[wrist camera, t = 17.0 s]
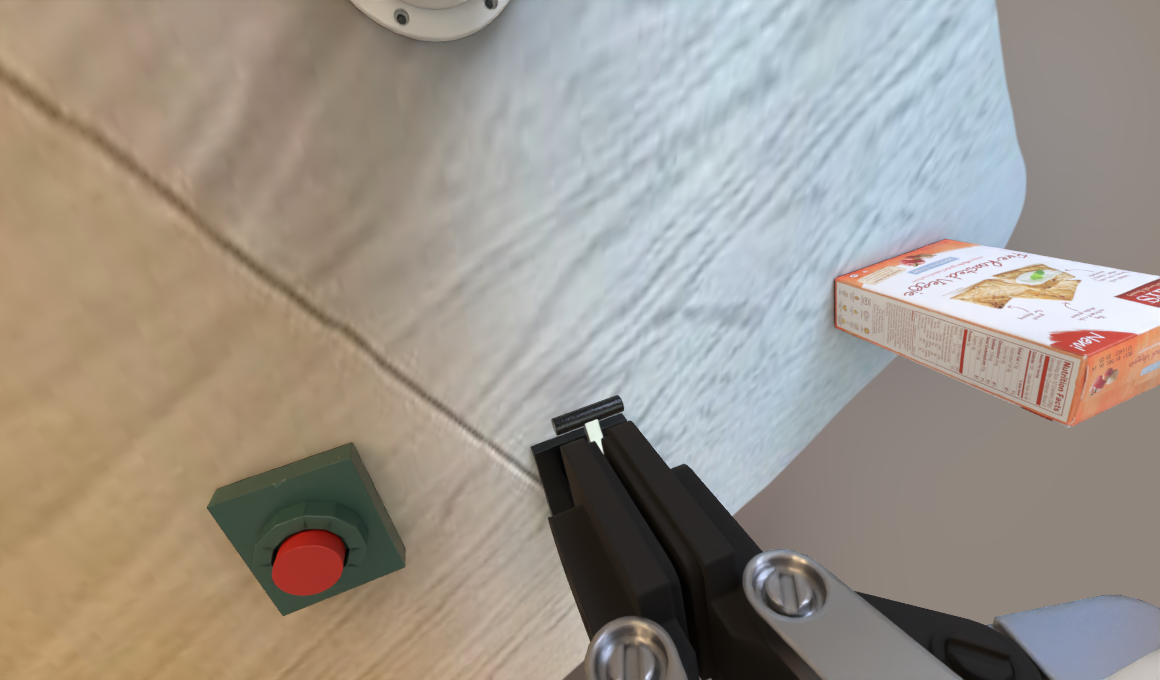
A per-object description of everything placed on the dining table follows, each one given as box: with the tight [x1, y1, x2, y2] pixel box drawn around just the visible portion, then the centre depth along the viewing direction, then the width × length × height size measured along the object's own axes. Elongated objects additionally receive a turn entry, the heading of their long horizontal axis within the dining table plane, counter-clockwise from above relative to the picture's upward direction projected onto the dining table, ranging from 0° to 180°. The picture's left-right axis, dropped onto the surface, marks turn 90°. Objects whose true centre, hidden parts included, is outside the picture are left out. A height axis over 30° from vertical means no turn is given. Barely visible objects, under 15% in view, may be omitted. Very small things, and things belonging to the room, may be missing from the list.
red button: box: [272, 529, 345, 596], centre depth 37 cm, size 5×5×2 cm
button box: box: [207, 443, 405, 616], centre depth 39 cm, size 12×10×4 cm
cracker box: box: [835, 239, 1160, 428], centre depth 42 cm, size 14×6×21 cm, turn 103°
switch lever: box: [551, 395, 624, 454], centre depth 38 cm, size 13×6×2 cm, turn 12°
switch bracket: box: [531, 413, 627, 516], centre depth 43 cm, size 10×9×12 cm
